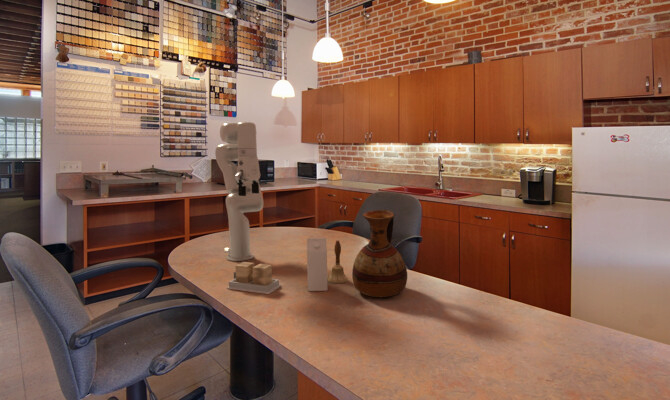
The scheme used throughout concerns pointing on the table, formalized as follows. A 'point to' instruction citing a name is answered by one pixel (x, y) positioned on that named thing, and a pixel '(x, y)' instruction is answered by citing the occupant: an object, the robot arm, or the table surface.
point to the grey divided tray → (254, 286)
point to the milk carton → (317, 264)
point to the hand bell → (337, 268)
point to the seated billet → (262, 274)
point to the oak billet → (244, 272)
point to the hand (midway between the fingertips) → (249, 194)
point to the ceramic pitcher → (379, 259)
